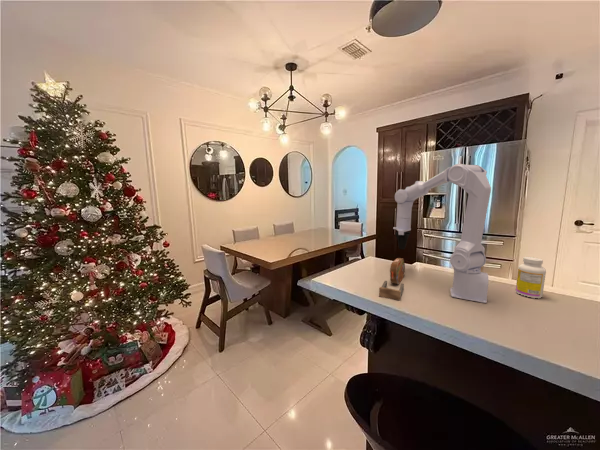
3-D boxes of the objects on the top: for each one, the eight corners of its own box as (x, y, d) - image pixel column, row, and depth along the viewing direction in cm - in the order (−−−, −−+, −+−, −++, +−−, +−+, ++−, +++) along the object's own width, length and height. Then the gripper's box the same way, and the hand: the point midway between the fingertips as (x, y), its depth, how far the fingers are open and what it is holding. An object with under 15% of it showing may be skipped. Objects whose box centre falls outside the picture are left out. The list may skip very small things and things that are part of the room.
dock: (403, 289, 86) (404, 281, 85) (399, 300, 77) (400, 291, 76) (384, 285, 89) (385, 278, 89) (379, 296, 80) (379, 287, 80)
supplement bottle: (522, 289, 85) (527, 255, 83) (547, 297, 78) (552, 260, 77) (510, 292, 83) (515, 256, 81) (534, 300, 76) (539, 262, 75)
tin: (396, 287, 88) (397, 265, 86) (387, 285, 89) (389, 264, 88) (405, 275, 100) (406, 256, 99) (397, 274, 102) (398, 255, 100)
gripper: (396, 215, 110) (394, 244, 112) (391, 219, 97) (389, 251, 99) (412, 216, 106) (411, 246, 108) (410, 220, 94) (408, 253, 96)
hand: (402, 248), depth 103 cm, fingers closed
